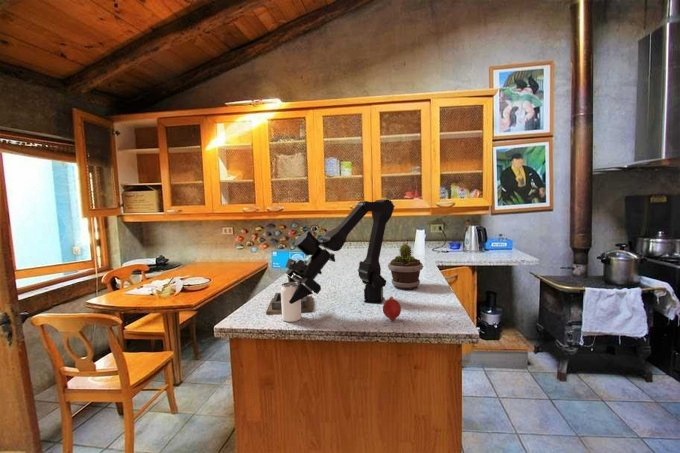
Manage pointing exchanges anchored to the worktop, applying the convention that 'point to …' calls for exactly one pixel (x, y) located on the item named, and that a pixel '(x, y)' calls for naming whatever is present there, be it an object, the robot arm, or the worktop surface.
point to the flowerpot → (405, 269)
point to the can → (290, 310)
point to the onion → (391, 309)
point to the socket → (276, 305)
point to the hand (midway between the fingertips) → (286, 300)
